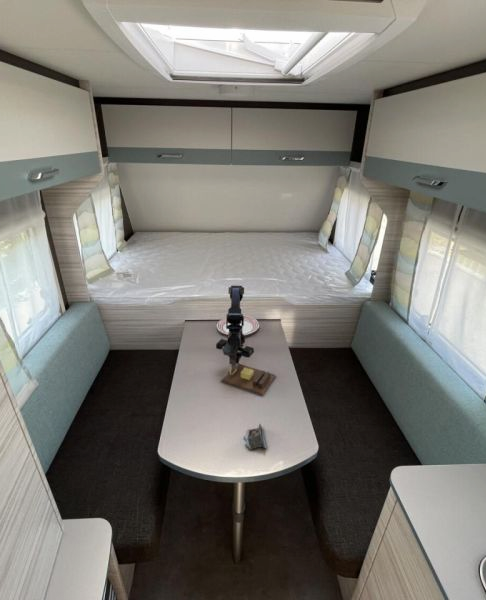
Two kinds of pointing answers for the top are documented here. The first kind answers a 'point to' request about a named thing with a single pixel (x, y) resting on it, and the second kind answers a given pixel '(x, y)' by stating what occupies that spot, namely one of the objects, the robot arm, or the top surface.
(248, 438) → the grey irregular block
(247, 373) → the butter stick
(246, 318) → the dinner plate
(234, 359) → the dark grey block
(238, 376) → the cutting board
